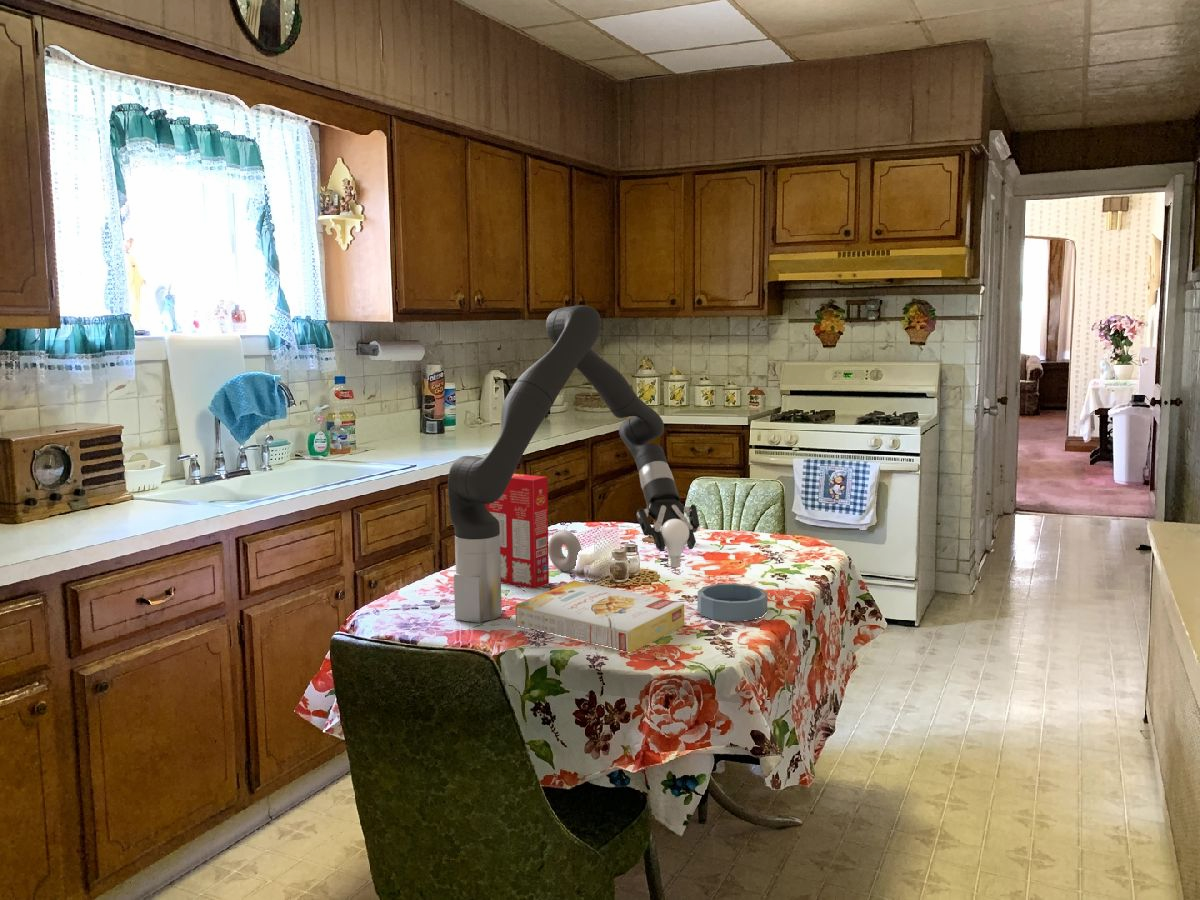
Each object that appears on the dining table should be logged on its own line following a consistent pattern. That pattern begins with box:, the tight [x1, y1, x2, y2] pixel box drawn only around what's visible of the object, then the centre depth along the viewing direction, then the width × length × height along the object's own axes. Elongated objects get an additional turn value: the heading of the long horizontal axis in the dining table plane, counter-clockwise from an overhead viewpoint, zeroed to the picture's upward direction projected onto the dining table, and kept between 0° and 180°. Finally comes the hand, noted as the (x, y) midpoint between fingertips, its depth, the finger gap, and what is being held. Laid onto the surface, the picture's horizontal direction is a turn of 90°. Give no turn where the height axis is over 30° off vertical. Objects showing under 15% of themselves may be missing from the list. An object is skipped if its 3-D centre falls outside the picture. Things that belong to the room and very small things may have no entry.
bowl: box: [696, 583, 769, 622], centre depth 211 cm, size 14×14×4 cm
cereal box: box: [514, 580, 685, 653], centre depth 202 cm, size 20×6×28 cm
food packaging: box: [485, 472, 550, 589], centre depth 233 cm, size 15×5×25 cm, turn 57°
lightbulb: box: [660, 519, 689, 569], centre depth 221 cm, size 6×6×11 cm
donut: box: [548, 530, 582, 572], centre depth 244 cm, size 10×3×10 cm, turn 48°
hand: (677, 548), depth 220 cm, fingers closed on lightbulb, 6 cm apart
